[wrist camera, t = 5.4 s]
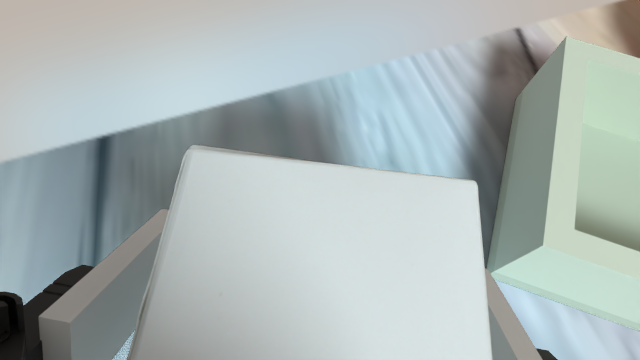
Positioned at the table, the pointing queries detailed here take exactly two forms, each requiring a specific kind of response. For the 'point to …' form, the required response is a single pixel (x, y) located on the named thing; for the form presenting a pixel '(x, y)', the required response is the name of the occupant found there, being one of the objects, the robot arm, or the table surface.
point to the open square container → (574, 185)
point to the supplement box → (314, 264)
